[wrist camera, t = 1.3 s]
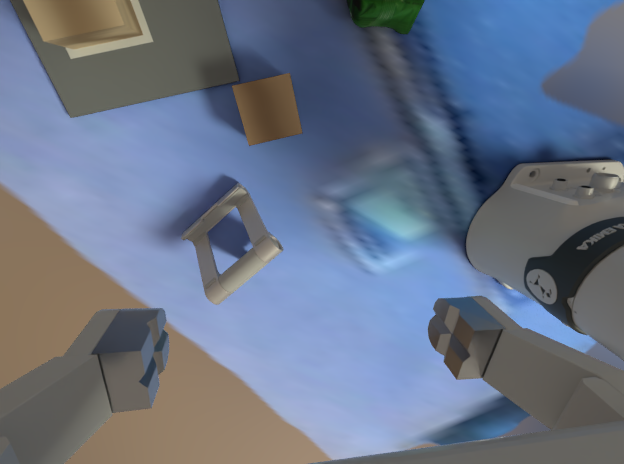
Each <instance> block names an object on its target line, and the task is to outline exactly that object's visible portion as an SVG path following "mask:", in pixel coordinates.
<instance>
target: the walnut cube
mask: <svg viewBox="0 0 624 464" xmlns="http://www.w3.org/2000/svg"><path fill="white" fill-rule="evenodd" d="M232 88H233V92H234V95H235V99H236V102H237V106H238V109H239V112H240V116H241V119H242V123H243V126H244V130H245V133H246V137H247V140H248V144H249V146H250V145H255V144H259V143H263V142H267V141H272V140H276V139H280V138H284V137H289V136H293V135H297V134H301V133H302V129H301V124H300V119H299V114H298V110H297V105H296V100H295V95H294V91H293V86H292V81H291V76H290V73H287V74H283V75H278V76H274V77H269V78H265V79H260V80H256V81H251V82H247V83H243V84H238V85H234V86H232Z"/></svg>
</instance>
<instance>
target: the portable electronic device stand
mask: <svg viewBox="0 0 624 464" xmlns="http://www.w3.org/2000/svg"><path fill="white" fill-rule="evenodd" d="M235 207H236V208H237V209H238V211H239V213H240V216H241V218H242V221H243V223H244V226H245V228H246V231H247V233H248V236H249V238H250V241H251V243H252V246H253V248H252V249H250V250H249V251H248V252H247V253H246V254H245V255H244V256H242V257H241V258H240V259H239V260H238V261H237V262H235V263H234V264H233V265H232V266H231V267H230V268H228V269H227V270H226V271H225V272H224V273H223V274H220V273H219V272H218V270H217V267H216V263H215V259H214V255H213V252H212V248H211V244H210V240H209V236H208V231H209V230H210V229H212V228H213V227H214V226H215V225H216V224H217V223H218V222H219V221H220V220H222V219H223V218H224V217H225V216H226V215H227V214H228V213H229V212H230V211H232V210H233V209H234V208H235ZM181 239H183V240H185V239H188V240H190V241H192V242H193V244H194V246H195V249H196V253H197V258H198V263H199V268H200V273H201V277H202V282H203V287H204V291H205V295H206V297H207V298H208V300H209V301H210V302H212V303H213V304H216V305H218V304H220V303H221V302H223V301H224V300H225V299H226V298H227V297H228V296H230V295H231V294H232V293H233V292H234V291H236V290H237V289H238V288H239V287H240V286H242V285H243V284H244V283H245V282H246V281H248V280H249V279H250V278H251V277H252V276H253V275H255V274H256V273H257V272H258V271H259V270H261V269H262V268H263V267H264V266H265V265H267V264H268V263H269V262H270V261H271V260H273V259H274V258H275V257H276V256H277V255H279V254H280V253H281V252H282V251H283V247H282V245H281V244H280V242H279V241H278V240H277V239H276V238H275V237H274V236H273V235H272V234H270V233H269V232H268V231H267V229H266V227H265V225H264V223H263V221H262V219H261V217H260V215H259V213H258V211H257V208H256V206H255V204H254V202H253V200H252V198H251V196H250V194H249V192H248V191H247V189H246V188H245V187H244V186H243V185H241V184H240V183H237V184H236V185H235V186H234V187H233V188H232V189H230V190H229V191H228V192H227V193H226V194H225V195H224V196H223V197H222V198H221V199H220V200H218V201H217V202H216V203H215V204H214V205H213V206H212V207H211V208H210V209H209V210H207V211H206V212H205V213H204V214H203V215H202V216H201V217H200V218H199V219H198V220H197V221H195V222H194V223H193V224H192V225H191V226H190V227H189V228H188V229H187V230H186V231H185V232H183V233H182V237H181Z"/></svg>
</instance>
